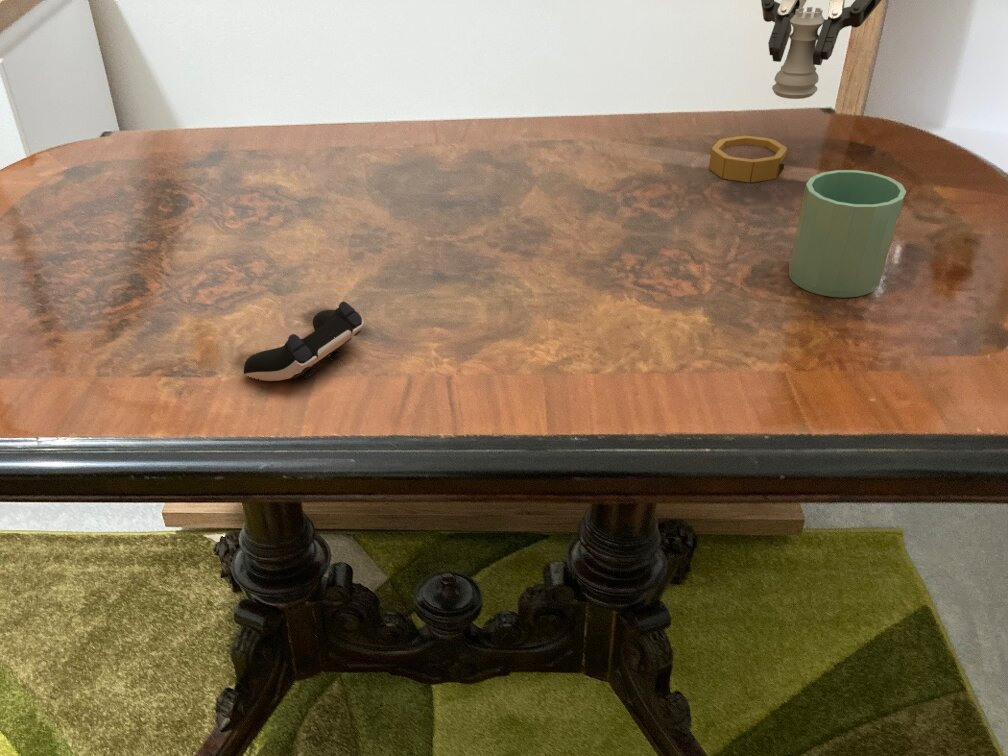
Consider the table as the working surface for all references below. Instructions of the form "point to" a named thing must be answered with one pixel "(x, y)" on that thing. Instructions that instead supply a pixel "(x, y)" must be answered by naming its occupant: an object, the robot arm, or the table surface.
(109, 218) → the table surface
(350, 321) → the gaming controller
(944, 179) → the table surface
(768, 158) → the holder ring
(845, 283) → the green cup
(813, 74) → the rook chess piece
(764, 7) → the robot arm
